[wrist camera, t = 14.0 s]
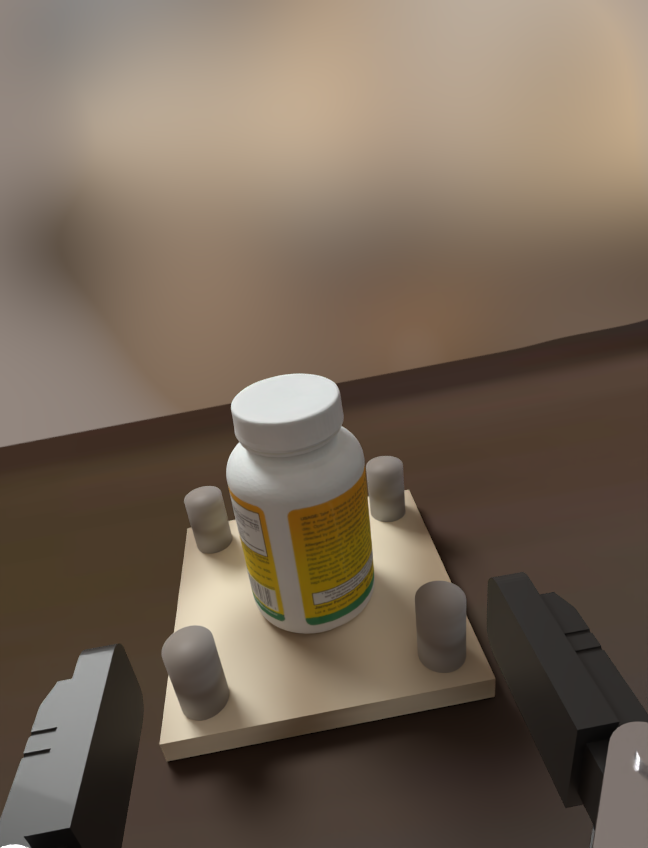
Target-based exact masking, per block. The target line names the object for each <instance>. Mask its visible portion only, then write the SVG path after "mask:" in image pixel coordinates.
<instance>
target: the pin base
mask: <svg viewBox="0 0 648 848" xmlns="http://www.w3.org/2000/svg"><path fill="white" fill-rule="evenodd" d="M366 470H367V481H368V491H369V497H368V507H369V517H370V528H371V539H372V550H373V564H374V577H375V584H374V590H373V593H372V596H371V598H370V600H369V602H368V604H367V605H366V607H365V608H364V609H363V610H362V612H361V613H359V614H358V615H357V616H356V617H355V618H353V619H352V620H350V621H349V622H347V623H345V624H343V625H341V626H338V627H336V628H333V629H331V630H328V631H324V632H320V633H310V634H303V633H294V632H290V631H286V630H284V629H281V628H279V627H277V626H275V625H273V624H272V623H271V622H269V621H268V620H267V619H266V618H265V617H264V616H263V615H262V614H261V612H260V611H259V609H258V607H257V605H256V603H255V600H254V596H253V592H252V589H251V584H250V580H249V576H248V571H247V567H246V562H245V557H244V553H243V548H242V544H241V540H240V535H239V531H238V527H237V523H236V520H233V521H228V518H227V514H226V510H225V506H224V502H223V498H222V494H221V491H220V489H218V488H217V487H213V486H204V487H200V488H197V489H195V490H193V491H191V492H190V493H188V494H187V495H186V497H185V499H184V503H185V506H186V510H187V513H188V517H189V520H190V524H191V527H192V528H188V530H187V537H186V545H185V553H184V561H183V568H182V576H181V584H180V591H179V599H178V607H177V615H176V622H175V630H174V633H173V634H172V635H171V636H170V637H169V638H168V639H167V640H166V642H165V643H164V645H163V648H162V658H163V661H164V664H165V666H166V669H167V672H168V674H169V676H168V684H167V692H166V699H165V707H164V715H163V722H162V730H161V738H160V747H161V749H162V751H163V754H164V756H165V758H166V761H172V760H177V759H182V758H187V757H192V756H198V755H203V754H208V753H213V752H218V751H223V750H228V749H233V748H238V747H243V746H248V745H253V744H258V743H263V742H268V741H273V740H278V739H284V738H289V737H294V736H299V735H304V734H309V733H314V732H319V731H324V730H329V729H334V728H339V727H344V726H349V725H354V724H359V723H364V722H370V721H375V720H380V719H385V718H390V717H395V716H400V715H405V714H410V713H415V712H420V711H425V710H430V709H435V708H440V707H445V706H450V705H456V704H461V703H466V702H471V701H476V700H481V699H486V698H491V697H495V677H494V674H493V672H492V670H491V668H490V666H489V663H488V661H487V659H486V657H485V655H484V653H483V650H482V648H481V646H480V644H479V642H478V640H477V637H476V635H475V633H474V631H473V629H472V626H471V624H470V622H469V620H468V618H467V616H466V596H465V594H464V592H463V591H462V590H461V589H460V588H459V587H458V586H457V585H455V584H453V583H451V581H450V578H449V576H448V574H447V572H446V570H445V568H444V565H443V563H442V561H441V559H440V557H439V554H438V552H437V550H436V548H435V546H434V544H433V541H432V539H431V537H430V535H429V533H428V531H427V528H426V526H425V524H424V522H423V520H422V517H421V515H420V513H419V511H418V509H417V507H416V504H415V502H414V500H413V498H412V496H411V493H410V491H409V490H405V491H404V477H403V464H402V462H401V460H399V459H398V458H395V457H392V456H380V457H376V458H374V459H372V460H370V461H369V462H368V463H367V465H366Z"/></svg>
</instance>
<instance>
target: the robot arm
mask: <svg viewBox="0 0 648 848" xmlns="http://www.w3.org/2000/svg"><path fill="white" fill-rule="evenodd" d="M487 633H488V638H489V642H490V646H491V649H492V652H493V654H494V657H495V659H496V661H497V663H498V665H499V667H500V669H501V672H502V674H503V676H504V678H505V680H506V682H507V684H508V686H509V689H510V691H511V693H512V695H513V697H514V699H515V701H516V704H517V706H518V708H519V710H520V712H521V714H522V716H523V718H524V721H525V723H526V725H527V727H528V729H529V731H530V733H531V735H532V738H533V740H534V742H535V744H536V746H537V748H538V750H539V752H540V755H541V757H542V759H543V761H544V763H545V765H546V767H547V769H548V772H549V774H550V776H551V778H552V780H553V782H554V784H555V786H556V789H557V791H558V793H559V795H560V797H561V799H562V801H563V803H564V806H565V808H568V807H573V806H578V805H583V804H584V806H585V808H586V810H587V812H588V814H589V816H590V818H591V820H592V822H593V826H592V832H591V838H590V845H589V848H648V714H647V712H646V711H645V709H644V708H643V706H642V705H641V704H640V702H639V701H638V699H637V698H636V696H635V695H634V693H633V692H632V690H631V689H630V687H629V686H628V685H627V683H626V682H625V680H624V679H623V677H622V676H621V674H620V673H619V671H618V670H617V668H616V667H615V666H614V664H613V663H612V661H611V660H610V658H609V657H608V655H607V654H606V652H605V651H604V650H602V649H601V645H600V644H599V642H598V641H597V639H596V638H595V636H594V635H593V633H590V630H589V628H588V626H587V625H586V623H585V622H584V620H583V619H582V617H581V616H580V614H579V613H578V611H577V610H576V609H575V608H574V607H573V606H572V605H570V604H569V603H568V602H566V601H565V600H564V599H562V598H561V597H560V596H558V595H557V594H556V593H554V592H552V593H546V594H541V595H539V593H538V591H537V590H536V588H535V587H534V585H533V583H532V582H531V580H530V579H529V577H528V576H527V575H526V574H525V573H524V572H520V573H515V574H509V575H504V576H498V577H492V578H490V579H489V580H488V598H487ZM143 712H144V707H143V696H142V692H141V688H140V686H139V683H138V681H137V678H136V676H135V674H134V671H133V669H132V666H131V664H130V661H129V659H128V657H127V654H126V652H125V649H124V647H123V646H122V645H121V644H114V645H109V646H103V647H98V648H92V649H87V650H84V651H82V653H81V654H80V656H79V659H78V662H77V665H76V668H75V672H74V675H73V678H72V679H69V680H64V681H58V682H57V684H56V685H55V686H54V688H53V689H52V691H51V692H50V693H49V695H48V696H47V697H46V699H45V700H44V701H43V703H42V704H41V705H40V708H39V711H38V713H37V716H36V719H35V722H34V725H33V728H32V731H31V737H29V739H28V742H27V745H26V748H25V751H24V758H23V759H21V762H20V765H19V768H18V771H17V773H16V776H15V779H14V782H13V785H12V788H11V791H10V793H9V796H8V799H7V802H6V805H5V808H4V811H3V813H2V816H1V819H0V848H121V847H122V841H123V835H124V829H125V824H126V818H127V812H128V806H129V800H130V794H131V788H132V782H133V776H134V770H135V764H136V758H137V752H138V747H139V741H140V735H141V729H142V723H143Z"/></svg>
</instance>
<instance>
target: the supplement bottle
mask: <svg viewBox="0 0 648 848" xmlns="http://www.w3.org/2000/svg"><path fill="white" fill-rule="evenodd" d="M231 411H232V416H233V422H234V427H235V435H236V437H237V439H238V440H239V443H238V445H237V446H236V447H235V448H234V450H233V451H232V453H231V455H230V457H229V460H228V463H227V470H226V475H227V482H228V487H229V492H230V497H231V501H232V505H233V510H234V514H235V519H236V523H237V527H238V531H239V535H240V540H241V544H242V548H243V553H244V557H245V562H246V567H247V571H248V576H249V580H250V584H251V589H252V592H253V596H254V600H255V603H256V605H257V607H258V609H259V611H260V612H261V614H262V615H263V616H264V617H265V618H266V619H267V620H268V621H269V622H271V623H272V624H273V625H275V626H277V627H279V628H281V629H284V630H286V631H290V632H294V633H303V634H310V633H320V632H324V631H328V630H331V629H333V628H336V627H338V626H341V625H343V624H345V623H347V622H349V621H350V620H352V619H353V618H355V617H356V616H357V615H358V614H359V613H361V612H362V610H363V609H364V608H365V607H366V605H367V604H368V602H369V600H370V598H371V596H372V593H373V590H374V584H375V577H374V564H373V550H372V539H371V528H370V517H369V507H368V495H367V484H366V473H365V461H364V455H363V451H362V448H361V446H360V444H359V442H358V440H357V439H356V438H355V437H354V435H353V434H352V433H350V432H349V431H348V430H347V429H345V428H344V427H342V426H341V425H342V423H343V418H344V416H343V411H342V404H341V397H340V392H339V389H338V387H337V385H336V384H335V383H334V382H333V381H331V380H329V379H327V378H325V377H321V376H317V375H310V374H289V375H281V376H276V377H272V378H268V379H265V380H261V381H259V382H256V383H254V384H252V385H250V386H248V387H247V388H245V389H243V390H242V391H241V392H240V393H239V394H237V395H236V397H235V398H234V399H233V401H232V404H231Z"/></svg>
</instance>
